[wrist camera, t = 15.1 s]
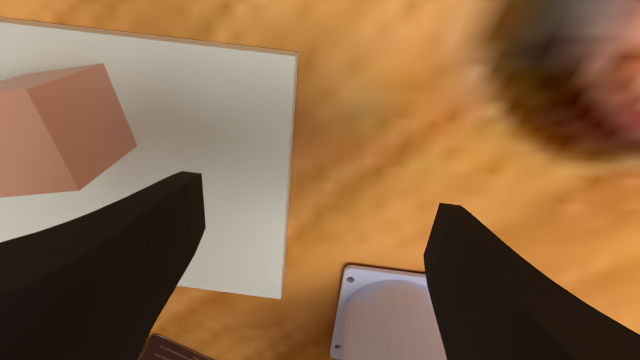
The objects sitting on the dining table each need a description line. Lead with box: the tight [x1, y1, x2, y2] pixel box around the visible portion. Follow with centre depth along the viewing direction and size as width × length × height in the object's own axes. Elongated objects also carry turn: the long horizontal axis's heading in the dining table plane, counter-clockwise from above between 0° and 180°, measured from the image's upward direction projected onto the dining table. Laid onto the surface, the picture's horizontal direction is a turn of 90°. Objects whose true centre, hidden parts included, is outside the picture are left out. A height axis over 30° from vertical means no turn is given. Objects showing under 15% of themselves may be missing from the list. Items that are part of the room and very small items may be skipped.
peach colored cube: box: [0, 63, 137, 198], centre depth 17 cm, size 4×4×5 cm
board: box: [0, 17, 299, 299], centre depth 20 cm, size 16×22×5 cm
